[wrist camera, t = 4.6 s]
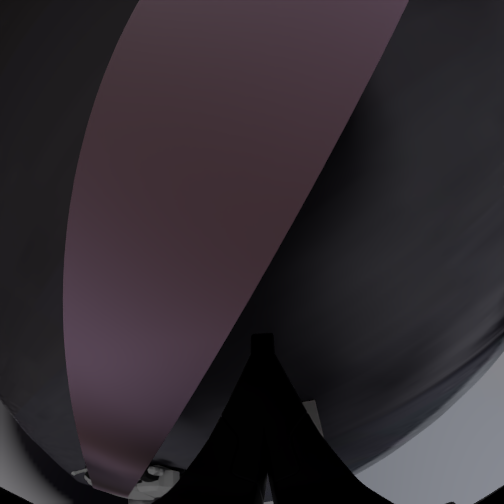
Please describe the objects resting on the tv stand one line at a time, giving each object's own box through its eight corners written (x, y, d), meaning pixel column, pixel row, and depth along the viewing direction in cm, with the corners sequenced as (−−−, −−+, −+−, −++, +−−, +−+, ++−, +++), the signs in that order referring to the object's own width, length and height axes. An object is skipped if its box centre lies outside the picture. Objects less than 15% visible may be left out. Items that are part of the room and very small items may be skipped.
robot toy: (156, 444, 24) (72, 450, 25) (155, 481, 20) (67, 477, 21) (211, 472, 30) (130, 479, 31) (214, 500, 26) (129, 502, 27)
